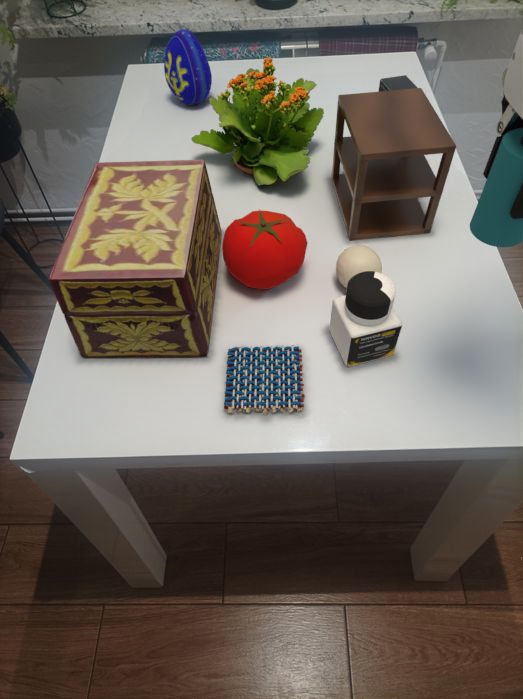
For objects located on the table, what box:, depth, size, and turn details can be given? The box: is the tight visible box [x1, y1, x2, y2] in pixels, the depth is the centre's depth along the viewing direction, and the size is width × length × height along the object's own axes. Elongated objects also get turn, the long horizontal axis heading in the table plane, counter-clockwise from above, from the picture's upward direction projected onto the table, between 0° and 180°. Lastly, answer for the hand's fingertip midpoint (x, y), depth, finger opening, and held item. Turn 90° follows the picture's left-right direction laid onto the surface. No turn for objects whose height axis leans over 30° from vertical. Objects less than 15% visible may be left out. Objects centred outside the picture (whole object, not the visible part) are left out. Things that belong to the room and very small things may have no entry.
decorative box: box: [48, 159, 222, 359], centre depth 70 cm, size 28×19×15 cm
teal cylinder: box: [469, 128, 523, 248], centre depth 43 cm, size 5×5×9 cm
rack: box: [331, 87, 457, 241], centre depth 80 cm, size 14×18×16 cm
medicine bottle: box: [329, 271, 403, 368], centre depth 63 cm, size 7×7×12 cm
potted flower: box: [191, 57, 325, 187], centre depth 90 cm, size 25×24×18 cm
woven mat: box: [223, 344, 306, 416], centre depth 64 cm, size 10×11×2 cm
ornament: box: [163, 28, 213, 106], centre depth 107 cm, size 11×9×15 cm
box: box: [377, 74, 419, 92], centre depth 96 cm, size 8×6×11 cm
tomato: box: [221, 209, 308, 290], centre depth 73 cm, size 13×12×11 cm
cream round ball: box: [335, 244, 383, 289], centre depth 73 cm, size 7×7×7 cm
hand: (513, 193), depth 43 cm, fingers closed on teal cylinder, 5 cm apart
